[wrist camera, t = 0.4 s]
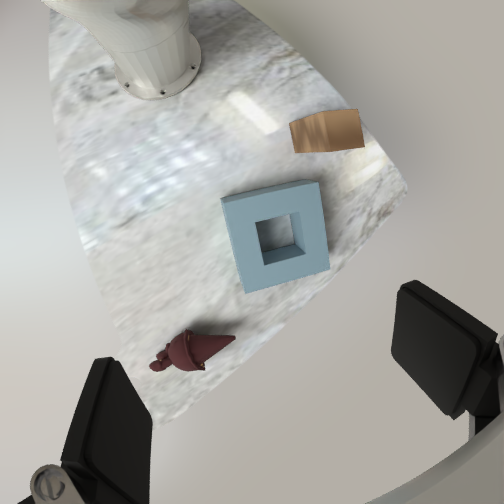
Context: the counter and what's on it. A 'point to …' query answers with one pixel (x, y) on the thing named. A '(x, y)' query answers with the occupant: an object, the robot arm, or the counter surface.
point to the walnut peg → (327, 132)
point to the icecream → (190, 351)
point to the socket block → (286, 258)
